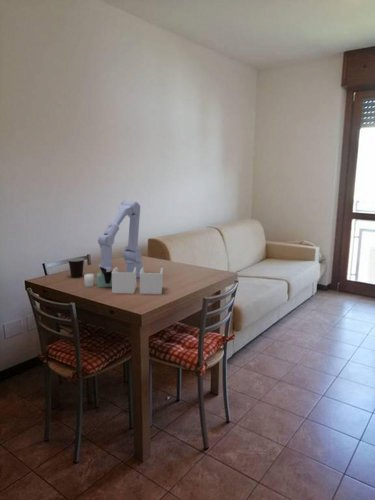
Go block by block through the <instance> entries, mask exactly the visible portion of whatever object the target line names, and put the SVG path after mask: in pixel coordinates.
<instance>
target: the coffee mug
mask: <svg viewBox="0 0 375 500" xmlns="http://www.w3.org/2000/svg"><path fill="white" fill-rule="evenodd" d="M84 264H85V258H83V257H82V258H81V257H71V258H68V265H69V266H68V267H69V271H70V277H71V278H72V279H78V278H82V277H84V274H83V273H84Z"/></svg>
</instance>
